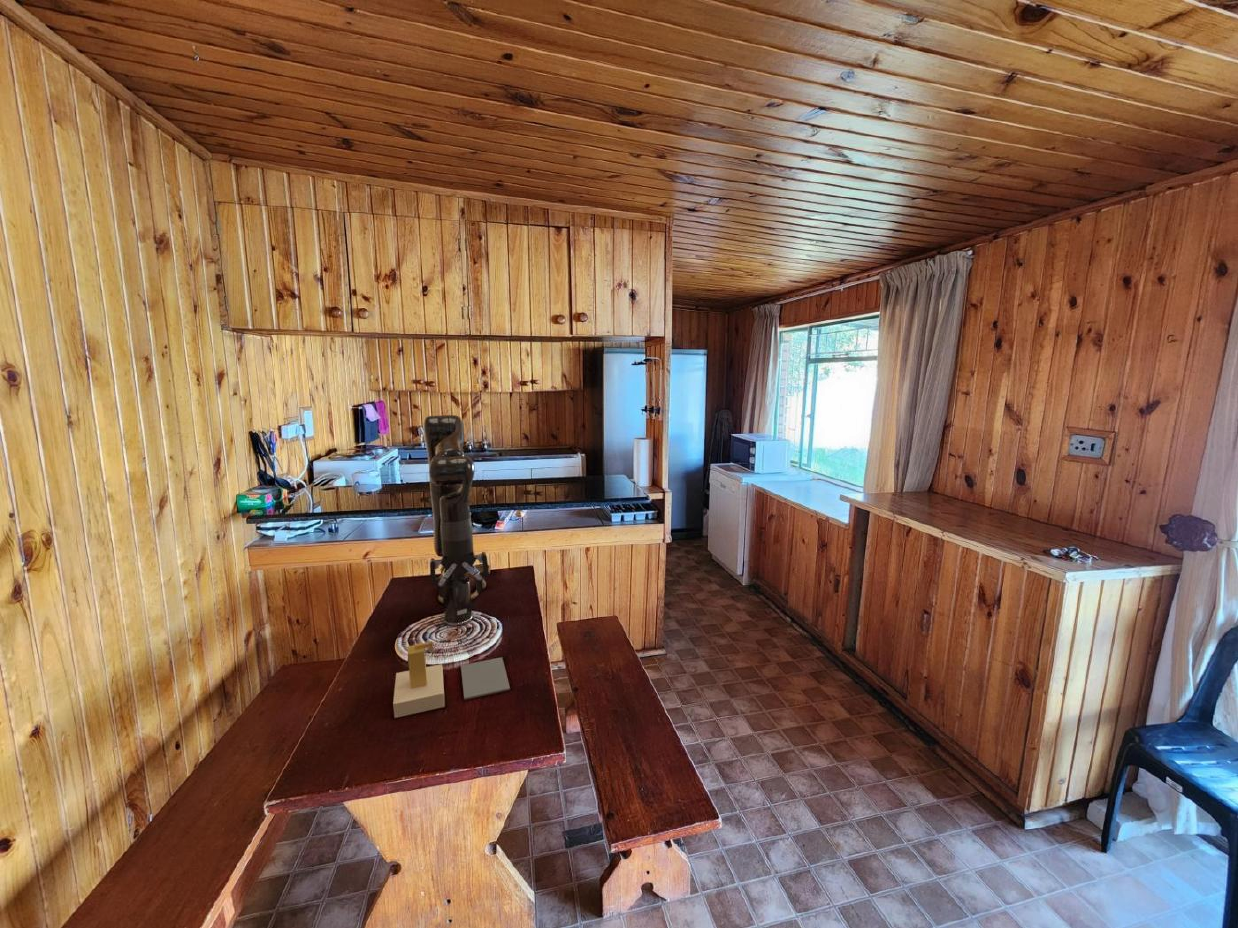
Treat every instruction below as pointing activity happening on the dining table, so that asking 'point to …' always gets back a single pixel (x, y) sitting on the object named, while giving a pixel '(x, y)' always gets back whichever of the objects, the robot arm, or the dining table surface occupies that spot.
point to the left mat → (484, 678)
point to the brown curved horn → (480, 569)
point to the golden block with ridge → (418, 664)
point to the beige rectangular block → (418, 693)
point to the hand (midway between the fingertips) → (461, 595)
